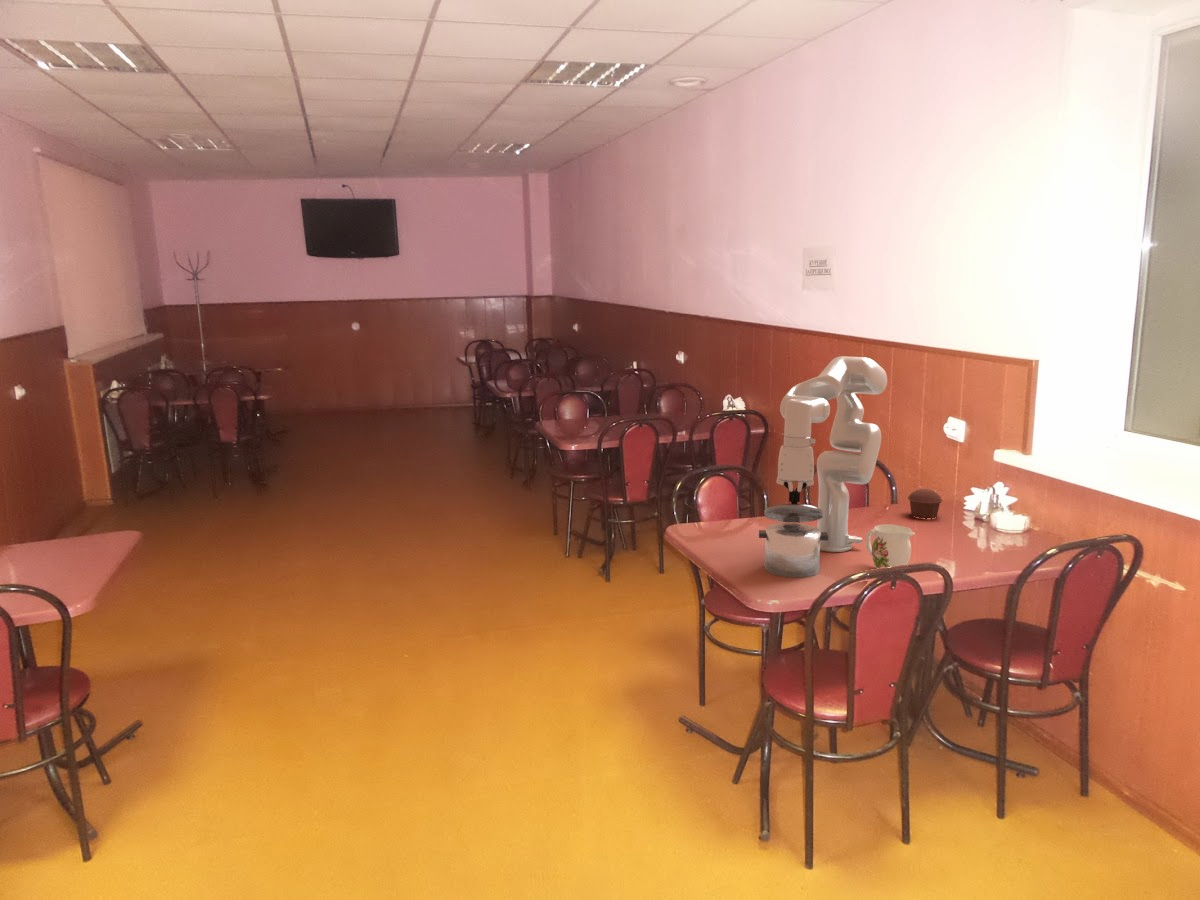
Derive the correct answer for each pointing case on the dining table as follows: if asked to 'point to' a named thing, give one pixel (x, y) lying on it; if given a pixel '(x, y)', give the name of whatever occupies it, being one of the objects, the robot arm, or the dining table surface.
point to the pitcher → (889, 545)
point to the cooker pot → (792, 549)
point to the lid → (793, 513)
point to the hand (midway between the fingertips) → (794, 504)
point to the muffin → (924, 503)
